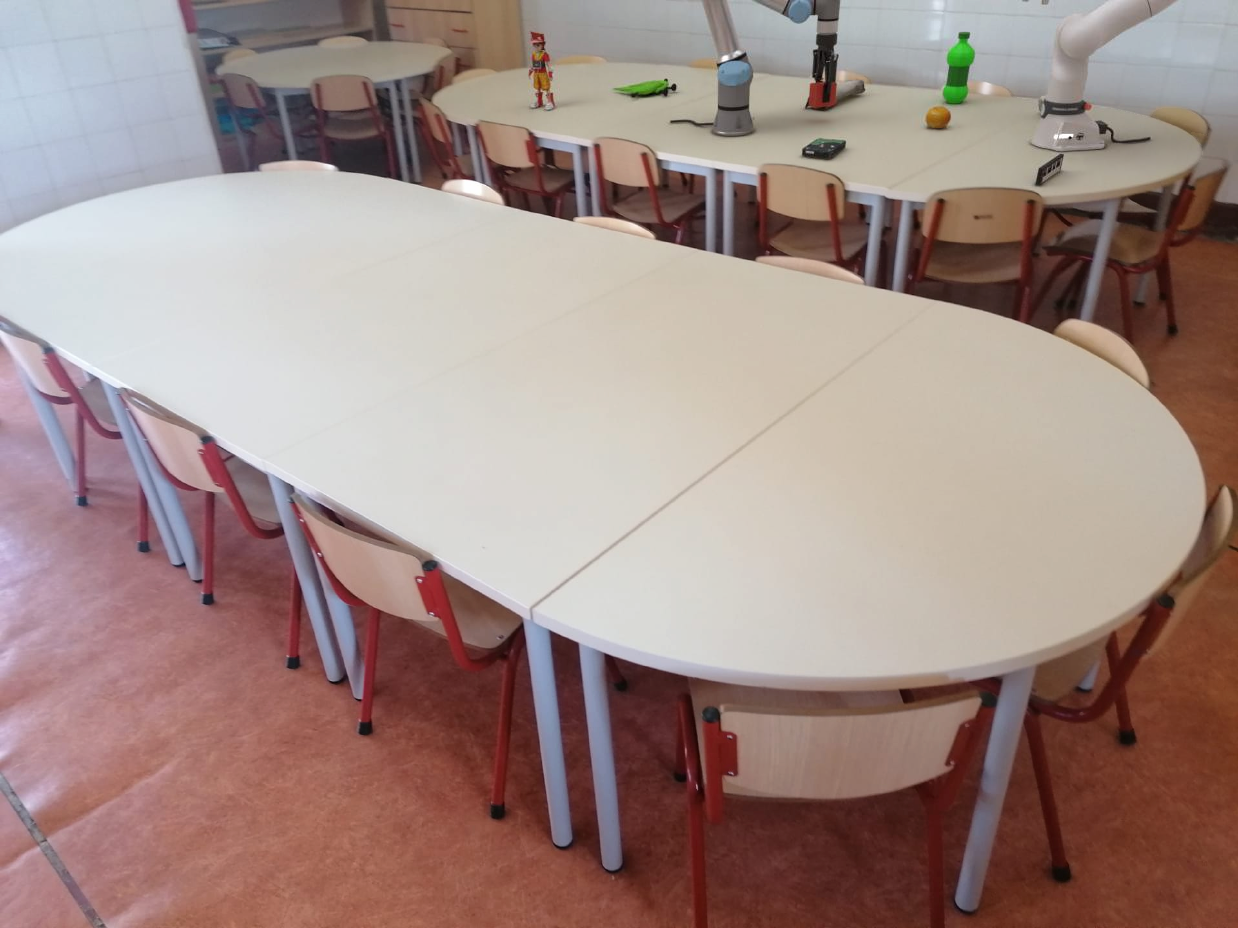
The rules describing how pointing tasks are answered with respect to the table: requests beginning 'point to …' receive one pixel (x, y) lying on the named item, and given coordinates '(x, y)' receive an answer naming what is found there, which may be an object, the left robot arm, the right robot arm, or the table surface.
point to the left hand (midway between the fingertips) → (822, 100)
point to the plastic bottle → (958, 69)
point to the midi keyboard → (1049, 169)
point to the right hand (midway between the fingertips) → (1034, 3)
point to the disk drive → (823, 148)
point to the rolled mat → (845, 90)
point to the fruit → (938, 117)
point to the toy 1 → (541, 71)
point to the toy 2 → (648, 88)
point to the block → (821, 95)
